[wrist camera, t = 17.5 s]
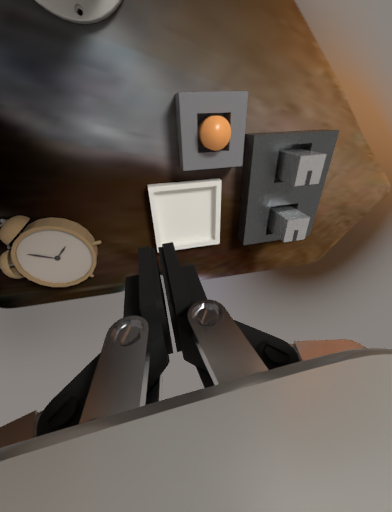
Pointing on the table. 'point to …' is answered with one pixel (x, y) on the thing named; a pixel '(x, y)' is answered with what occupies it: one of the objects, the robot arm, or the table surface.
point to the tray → (186, 212)
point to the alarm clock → (48, 251)
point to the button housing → (190, 116)
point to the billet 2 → (287, 223)
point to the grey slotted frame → (277, 180)
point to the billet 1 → (299, 166)
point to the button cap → (214, 132)
